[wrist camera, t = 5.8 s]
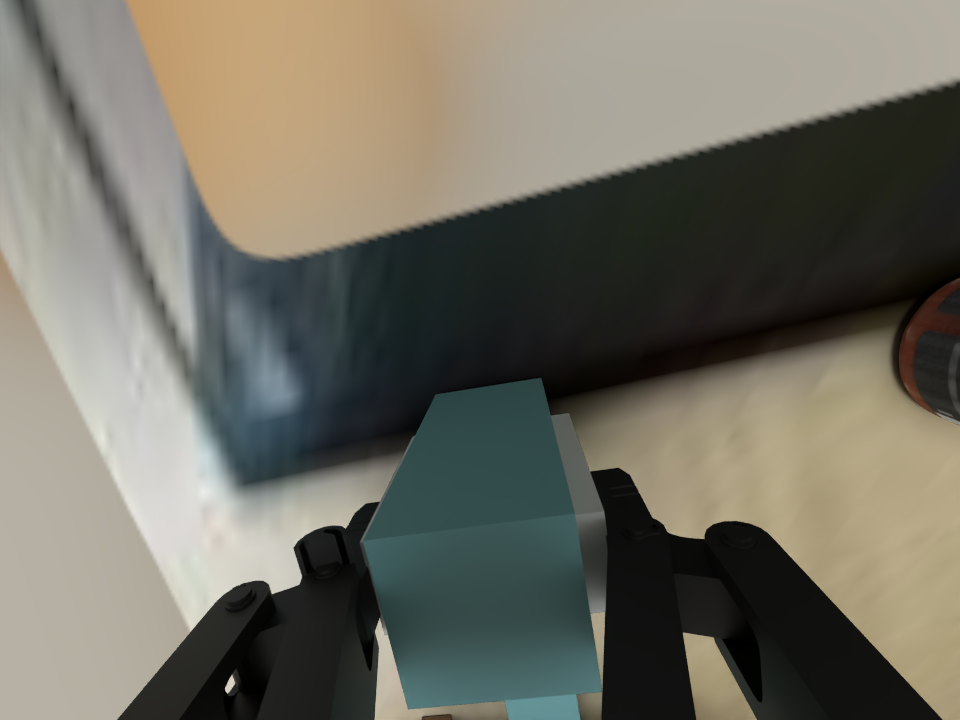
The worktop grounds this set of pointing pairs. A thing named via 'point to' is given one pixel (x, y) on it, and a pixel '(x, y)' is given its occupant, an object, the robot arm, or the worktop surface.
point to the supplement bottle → (934, 353)
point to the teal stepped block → (485, 560)
